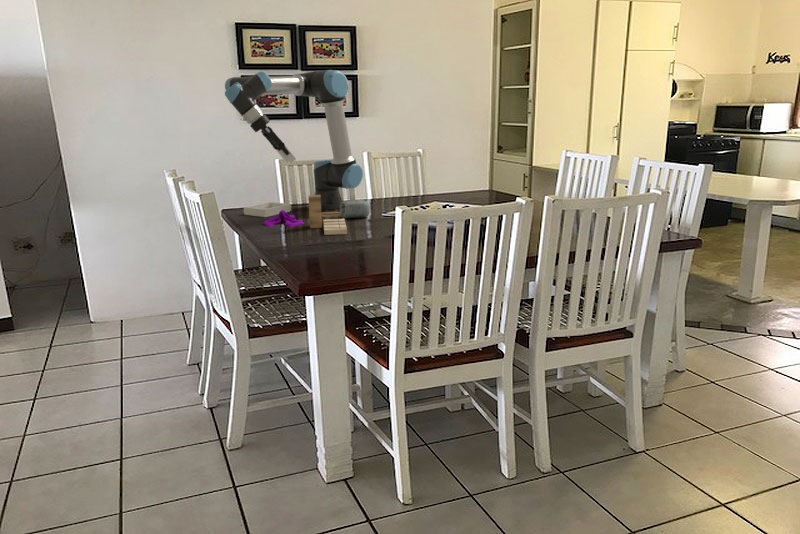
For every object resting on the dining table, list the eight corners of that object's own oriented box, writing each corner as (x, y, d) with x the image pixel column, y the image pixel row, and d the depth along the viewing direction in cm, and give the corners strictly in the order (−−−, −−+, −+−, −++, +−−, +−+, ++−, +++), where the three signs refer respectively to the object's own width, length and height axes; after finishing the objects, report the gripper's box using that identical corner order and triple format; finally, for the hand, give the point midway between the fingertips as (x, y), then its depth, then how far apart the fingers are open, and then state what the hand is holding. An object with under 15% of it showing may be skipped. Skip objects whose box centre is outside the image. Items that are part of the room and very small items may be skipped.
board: (323, 224, 270) (323, 219, 270) (344, 223, 271) (344, 218, 271) (324, 234, 249) (324, 229, 249) (347, 233, 250) (346, 228, 250)
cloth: (303, 227, 266) (302, 213, 265) (259, 228, 266) (258, 214, 264) (308, 217, 288) (308, 204, 286) (268, 218, 287) (267, 205, 286)
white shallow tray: (270, 208, 310) (269, 201, 309) (291, 211, 302) (290, 204, 301) (244, 214, 296) (243, 207, 295) (265, 217, 288) (264, 209, 287)
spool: (337, 213, 276) (342, 192, 278) (337, 219, 285) (341, 199, 288) (368, 220, 277) (372, 199, 279) (366, 226, 286) (370, 205, 289)
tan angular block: (310, 225, 268) (308, 195, 264) (340, 224, 269) (339, 194, 266) (310, 228, 263) (308, 197, 259) (341, 226, 265) (339, 195, 261)
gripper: (247, 126, 263) (280, 166, 270) (251, 123, 240) (287, 167, 246) (261, 115, 264) (294, 155, 271) (266, 111, 241) (302, 155, 247)
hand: (291, 160), depth 259 cm, fingers open, 13 cm apart
